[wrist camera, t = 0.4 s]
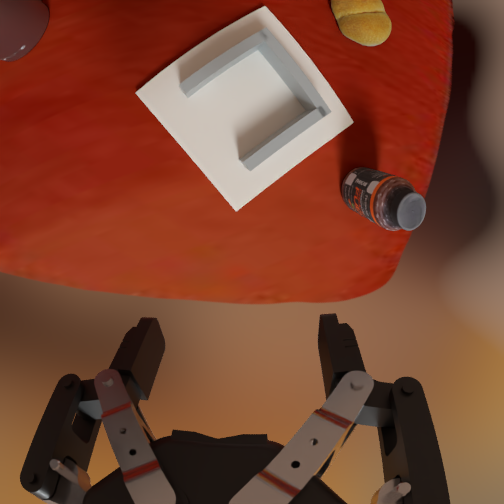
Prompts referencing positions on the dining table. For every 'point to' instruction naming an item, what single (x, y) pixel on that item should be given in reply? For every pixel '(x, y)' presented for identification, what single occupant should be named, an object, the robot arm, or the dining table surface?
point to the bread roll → (362, 20)
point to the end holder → (246, 105)
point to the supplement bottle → (383, 199)
